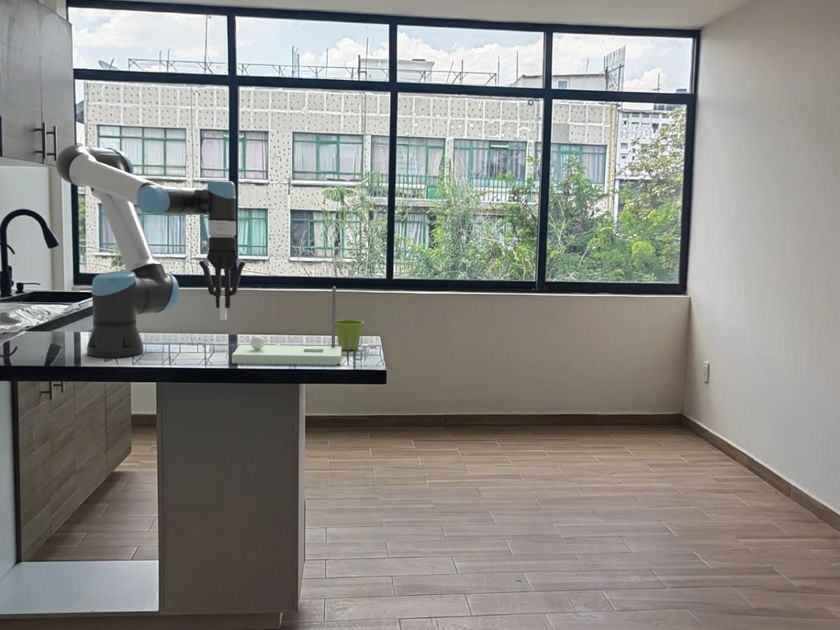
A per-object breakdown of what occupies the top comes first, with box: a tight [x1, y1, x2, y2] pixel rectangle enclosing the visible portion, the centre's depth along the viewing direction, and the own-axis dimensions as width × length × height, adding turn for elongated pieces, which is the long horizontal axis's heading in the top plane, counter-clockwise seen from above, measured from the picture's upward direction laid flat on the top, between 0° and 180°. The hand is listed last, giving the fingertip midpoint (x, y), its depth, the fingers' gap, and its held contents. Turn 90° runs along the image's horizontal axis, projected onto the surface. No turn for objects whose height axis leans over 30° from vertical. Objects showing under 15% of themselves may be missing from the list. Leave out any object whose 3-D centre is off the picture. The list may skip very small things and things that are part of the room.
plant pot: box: [335, 319, 364, 351], centre depth 240 cm, size 9×9×9 cm
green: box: [231, 286, 343, 366], centre depth 222 cm, size 30×20×20 cm, turn 95°
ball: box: [250, 335, 266, 350], centre depth 220 cm, size 4×4×4 cm
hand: (223, 319), depth 218 cm, fingers closed
